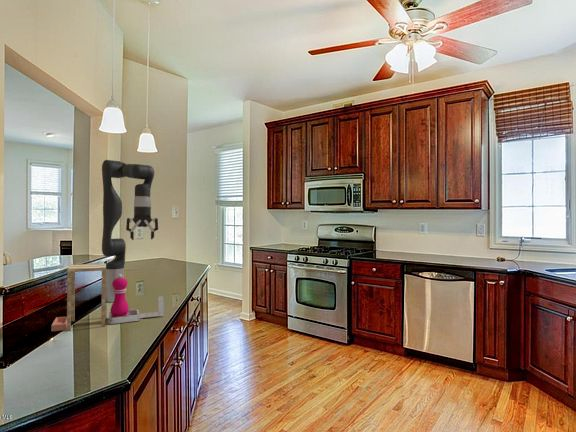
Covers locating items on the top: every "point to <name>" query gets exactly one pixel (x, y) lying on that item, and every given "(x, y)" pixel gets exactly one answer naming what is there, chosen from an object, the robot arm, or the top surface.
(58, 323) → the pit tray
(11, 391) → the top surface
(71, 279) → the shelf tunnel
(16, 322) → the top surface
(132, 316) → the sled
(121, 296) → the pepper mill
